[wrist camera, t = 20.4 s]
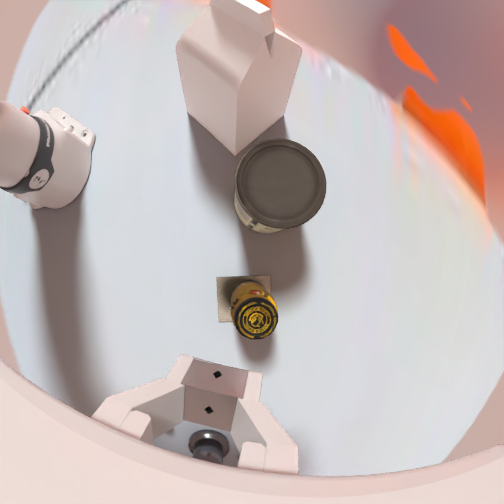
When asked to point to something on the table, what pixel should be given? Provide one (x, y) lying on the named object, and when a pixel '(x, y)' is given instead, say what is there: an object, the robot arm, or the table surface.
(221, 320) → the condiment
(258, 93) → the milk
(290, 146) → the coffee can
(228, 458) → the turntable
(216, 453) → the urn
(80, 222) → the table surface
